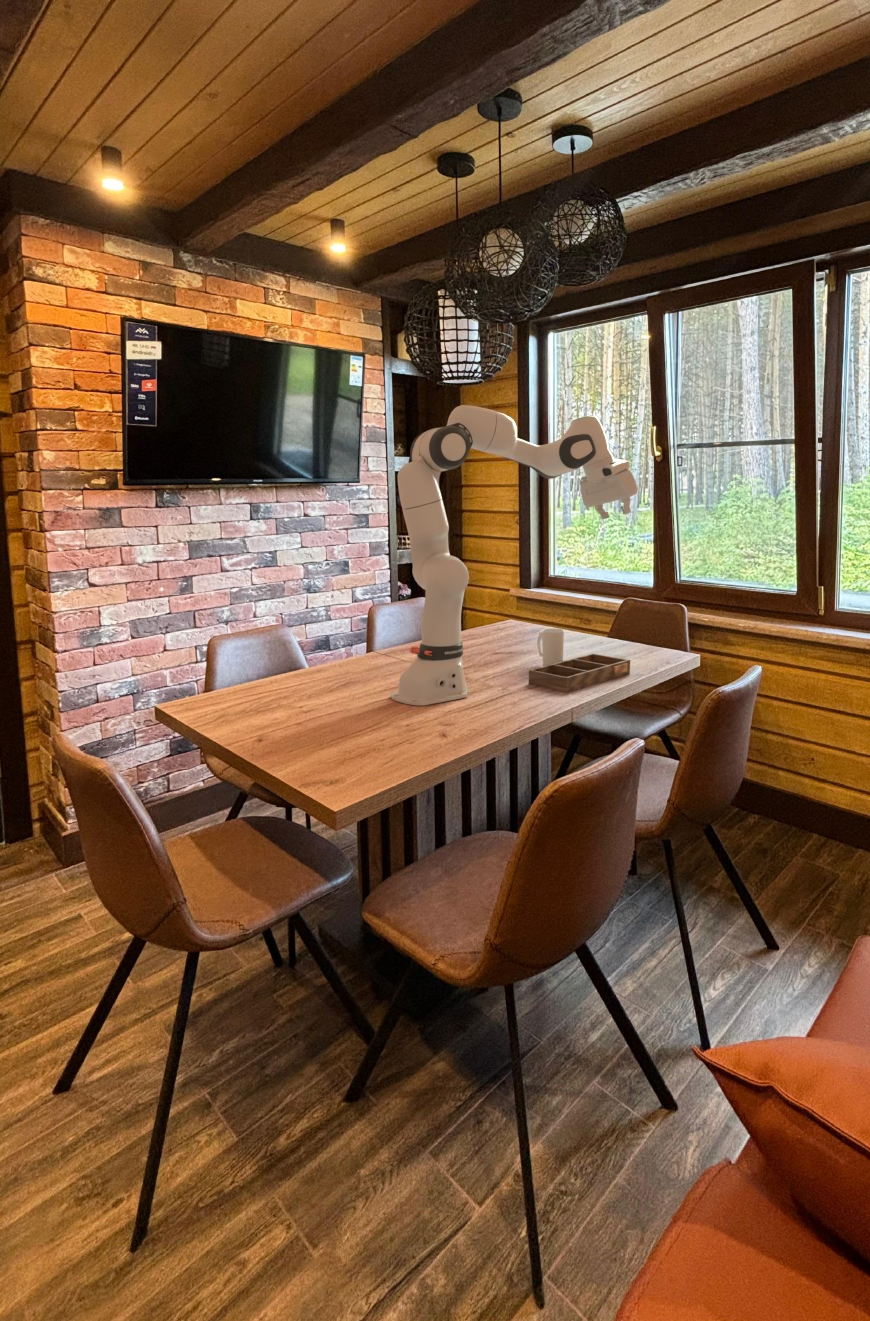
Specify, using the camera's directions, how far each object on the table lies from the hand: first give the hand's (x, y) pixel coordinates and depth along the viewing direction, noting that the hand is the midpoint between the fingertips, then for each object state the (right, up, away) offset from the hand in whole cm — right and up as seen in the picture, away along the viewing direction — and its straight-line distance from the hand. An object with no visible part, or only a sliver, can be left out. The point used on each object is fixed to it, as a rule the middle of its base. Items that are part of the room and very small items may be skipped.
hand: (616, 516), depth 219 cm
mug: (-17, -45, +19) cm, 51 cm away
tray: (-10, -48, +3) cm, 49 cm away
